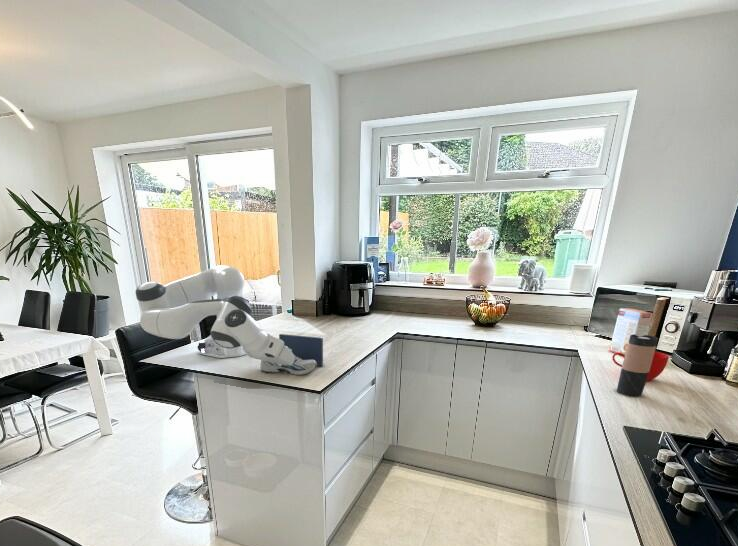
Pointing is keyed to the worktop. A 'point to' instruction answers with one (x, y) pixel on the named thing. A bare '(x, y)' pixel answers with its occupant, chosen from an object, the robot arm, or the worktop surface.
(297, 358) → the athletic shoe
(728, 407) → the worktop surface
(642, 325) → the cracker box
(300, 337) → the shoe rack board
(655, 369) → the ceramic cup
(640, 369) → the travel mug
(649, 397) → the worktop surface
